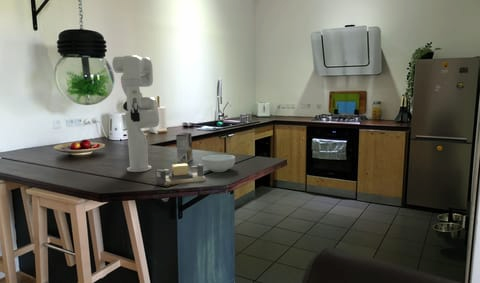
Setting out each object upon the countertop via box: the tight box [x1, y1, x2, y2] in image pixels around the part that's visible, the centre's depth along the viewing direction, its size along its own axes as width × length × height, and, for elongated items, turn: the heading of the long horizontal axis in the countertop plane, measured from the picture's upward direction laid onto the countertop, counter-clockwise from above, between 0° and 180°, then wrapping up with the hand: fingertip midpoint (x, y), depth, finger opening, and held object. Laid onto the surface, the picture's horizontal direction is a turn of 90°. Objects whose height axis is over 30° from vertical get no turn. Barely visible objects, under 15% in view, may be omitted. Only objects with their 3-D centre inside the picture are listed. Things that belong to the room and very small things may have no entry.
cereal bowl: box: [201, 154, 236, 173], centre depth 187 cm, size 17×17×7 cm
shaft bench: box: [155, 163, 207, 186], centre depth 170 cm, size 12×22×6 cm, turn 111°
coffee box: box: [175, 132, 194, 164], centre depth 211 cm, size 9×6×16 cm
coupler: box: [170, 163, 190, 177], centre depth 170 cm, size 4×8×6 cm, turn 110°
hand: (135, 120), depth 168 cm, fingers open, 9 cm apart
